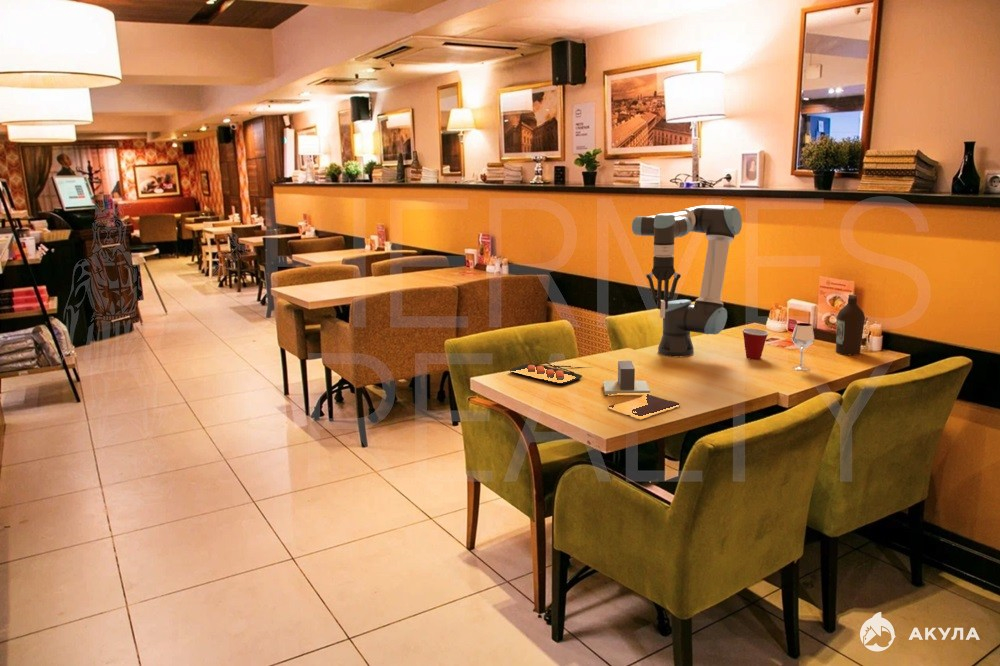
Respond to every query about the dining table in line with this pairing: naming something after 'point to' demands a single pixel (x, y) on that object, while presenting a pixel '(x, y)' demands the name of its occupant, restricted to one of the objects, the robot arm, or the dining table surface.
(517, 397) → the dining table surface
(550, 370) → the sushi plate
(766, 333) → the plastic cup
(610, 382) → the board
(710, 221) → the robot arm
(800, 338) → the wineglass
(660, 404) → the notebook
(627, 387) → the block
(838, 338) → the olive oil
